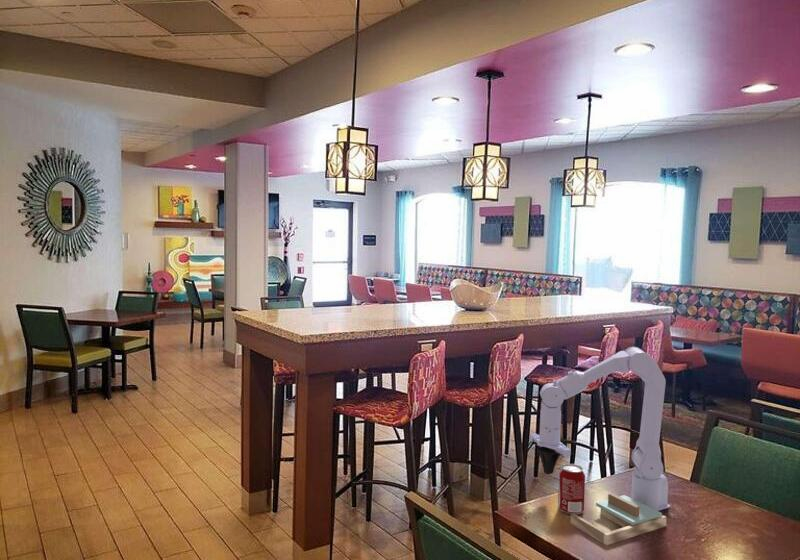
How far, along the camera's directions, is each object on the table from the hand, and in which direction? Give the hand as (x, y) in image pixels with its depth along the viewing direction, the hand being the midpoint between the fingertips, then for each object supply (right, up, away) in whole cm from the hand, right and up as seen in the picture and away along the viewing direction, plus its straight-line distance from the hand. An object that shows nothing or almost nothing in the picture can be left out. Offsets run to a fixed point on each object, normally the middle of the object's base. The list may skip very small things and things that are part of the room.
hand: (548, 473), depth 165 cm
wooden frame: (+14, -8, -15) cm, 22 cm away
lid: (+18, -6, -13) cm, 23 cm away
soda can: (+4, -8, -7) cm, 12 cm away
